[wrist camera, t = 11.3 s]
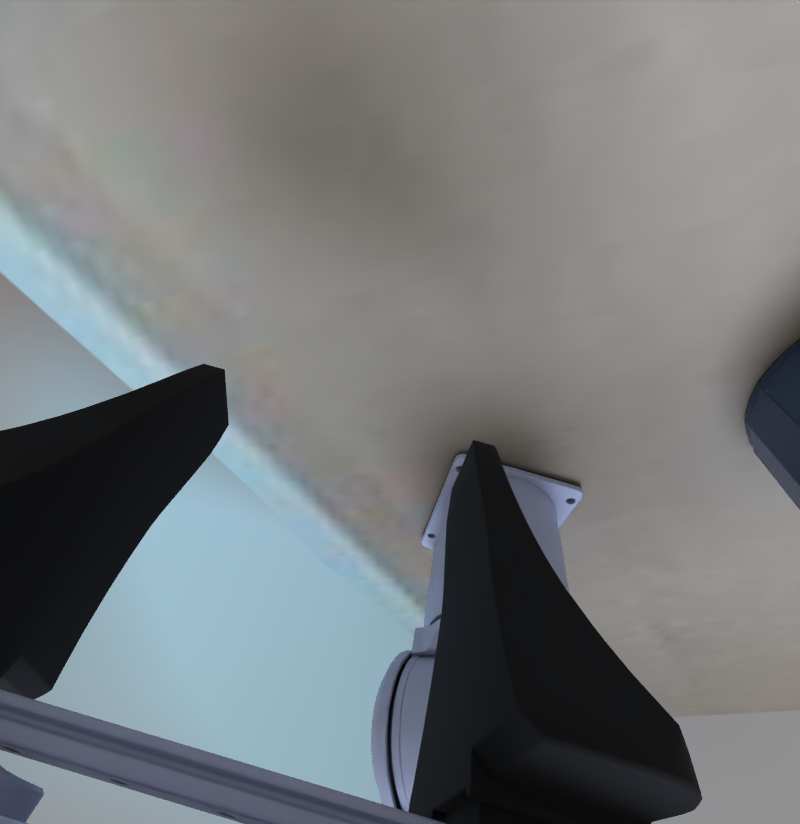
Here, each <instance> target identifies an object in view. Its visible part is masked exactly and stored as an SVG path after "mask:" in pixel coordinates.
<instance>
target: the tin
mask: <svg viewBox="0 0 800 824" xmlns="http://www.w3.org/2000/svg"><path fill="white" fill-rule="evenodd" d="M745 424H746V431H747V435H748V438H749V441H750V443H751V445H752V446H753V448H754V452H755V454H756V455H757V456H758V458H759V459H760V460H761V461H762V463H763V464H764V465H765V466H766V468H767V469H768V470H769V471H770V473H771V474H772V475H773V477H774V478H775V479H776V480H777V482H778V483H779V484H780V485H781V487H782V488H783V489H784V490H785V492H786V493H787V494H788V495H789V497H790V498H791V499H792V500H793V502H794V503H795V504H796V506H797V507H798V508H799V509H800V340H799V341H798V342H796V343H795V344H794V345H793V346H791V347H790V348H789V349H788V350H787V351H785V352H784V353H783V354H782V355H781V356H780V357H779V358H778V359H777V360H776V361H775V362H774V363H773V364H772V366H771V367H770V368H769V369H768V370H767V372H766V373H765V374H764V375H763V377H762V378H761V380H760V381H759V383H758V384H757V386H756V388H755V389H754V392H753V394H752V396H751V398H750V400H749V404H748V408H747V411H746V422H745Z"/></svg>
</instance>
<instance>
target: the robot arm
mask: <svg viewBox="0 0 800 824" xmlns="http://www.w3.org/2000/svg"><path fill="white" fill-rule="evenodd" d="M228 425H229V423H228V410H227V396H226V383H225V370H224V369H220V368H217V367H213V366H210V365H206V364H202V365H199V366H196V367H193V368H190V369H188V370H185V371H182V372H180V373H177V374H175V375H172V376H170V377H167V378H165V379H162V380H160V381H157V382H155V383H152V384H150V385H147V386H144V387H142V388H139V389H137V390H134V391H132V392H129V393H127V394H124V395H121V396H118V397H115V398H112V399H109V400H107V401H104V402H101V403H98V404H95V405H92V406H89V407H86V408H84V409H80V410H77V411H74V412H71V413H68V414H64V415H61V416H58V417H54V418H50V419H47V420H43V421H39V422H36V423H32V424H28V425H24V426H21V427H16V428H11V429H7V430H2V431H0V750H3V751H7V752H10V753H13V754H16V755H20V756H23V757H26V758H29V759H33V760H36V761H39V762H43V763H46V764H50V765H52V766H56V767H59V768H62V769H66V770H69V771H72V772H76V773H79V774H82V775H86V776H89V777H92V778H96V779H99V780H102V781H105V782H109V783H112V784H116V785H118V786H122V787H125V788H128V789H132V790H135V791H138V792H142V793H145V794H148V795H152V796H155V797H158V798H162V799H165V800H168V801H171V802H174V803H178V804H181V805H184V806H188V807H191V808H194V809H197V810H201V811H204V812H208V813H211V814H214V815H217V816H221V817H224V818H227V819H230V820H234V821H237V822H240V823H244V824H651V822H653V821H657V820H661V819H665V818H669V817H674V816H678V815H682V814H685V813H687V812H690V811H693V810H694V809H695V808H696V807H697V806H698V805H699V803H700V802H701V800H702V796H701V791H700V788H699V785H698V781H697V778H696V775H695V771H694V768H693V765H692V762H691V758H690V754H689V752H688V749H687V746H686V743H685V740H684V737H683V735H682V732H681V729H680V727H679V725H678V724H677V723H676V721H674V719H673V718H672V717H671V716H670V715H669V714H668V713H667V712H666V710H665V709H664V708H663V707H662V706H661V705H660V704H659V703H658V702H657V701H656V699H655V698H654V697H653V696H652V695H651V694H650V693H649V692H648V691H647V690H646V689H645V687H644V686H643V685H642V684H641V683H640V682H639V681H638V680H637V679H636V678H635V676H634V675H633V674H632V673H631V672H630V671H629V670H628V668H627V667H626V666H625V665H624V664H623V662H622V661H621V660H620V659H619V658H618V656H617V655H616V654H615V653H614V651H613V650H612V649H611V648H610V647H609V645H608V644H607V643H606V642H605V641H604V639H603V638H602V637H601V635H600V634H599V633H598V632H597V630H596V629H595V628H594V626H593V625H592V624H591V622H590V621H589V620H588V618H587V617H586V616H585V614H584V613H583V612H582V610H581V609H580V607H579V606H578V605H577V603H576V602H575V601H574V599H573V598H572V596H571V595H570V594H569V589H568V583H567V577H566V570H565V564H564V558H563V552H562V546H561V540H560V534H559V528H560V527H561V526H562V524H563V523H564V522H565V520H566V519H567V518H568V516H569V515H570V514H571V512H572V511H573V510H574V508H575V507H576V506H577V504H578V503H579V502H580V500H581V499H582V498H583V491H582V489H581V488H580V487H578V486H575V485H571V484H568V483H565V482H561V481H558V480H554V479H551V478H547V477H544V476H540V475H537V474H533V473H530V472H526V471H523V470H519V469H516V468H512V467H509V466H505V465H502V463H501V460H500V457H499V455H498V452H497V450H496V448H495V446H493V445H489V444H486V443H482V442H479V441H475V440H473V441H472V444H471V446H470V448H469V451H468V453H467V454H459V455H457V456H456V457H455V459H454V462H453V464H452V467H451V469H450V471H449V474H448V476H447V479H446V481H445V484H444V486H443V488H442V491H441V493H440V496H439V498H438V501H437V503H436V505H435V508H434V510H433V513H432V515H431V518H430V520H429V522H428V525H427V527H426V530H425V532H424V535H423V537H422V542H421V543H422V545H423V546H425V547H427V548H431V549H434V552H433V560H432V567H431V574H430V581H429V589H428V596H427V603H426V611H425V618H424V627H423V628H416V629H415V634H414V640H413V647H412V651H404V652H402V653H400V654H399V655H398V656H396V658H395V659H394V660H393V662H392V663H391V665H390V666H389V669H388V670H387V672H386V674H385V676H384V678H383V680H382V682H381V685H380V688H379V691H378V694H377V698H376V702H375V707H374V713H373V720H372V732H371V750H372V751H371V752H372V763H373V769H374V775H375V779H376V783H377V786H378V789H379V793H380V797H381V801H382V804H379V803H376V802H373V801H369V800H366V799H363V798H359V797H356V796H353V795H349V794H346V793H343V792H339V791H336V790H333V789H330V788H326V787H323V786H319V785H316V784H313V783H310V782H306V781H303V780H299V779H296V778H293V777H289V776H286V775H283V774H280V773H276V772H273V771H270V770H266V769H263V768H260V767H256V766H253V765H250V764H246V763H243V762H239V761H236V760H233V759H230V758H226V757H223V756H220V755H216V754H213V753H210V752H206V751H203V750H200V749H196V748H193V747H190V746H186V745H183V744H180V743H176V742H173V741H170V740H166V739H163V738H160V737H157V736H153V735H149V734H146V733H143V732H140V731H137V730H133V729H130V728H127V727H123V726H120V725H117V724H113V723H110V722H107V721H103V720H100V719H97V718H93V717H90V716H87V715H83V714H80V713H77V712H73V711H70V710H66V709H63V708H60V707H57V706H53V705H50V704H47V703H43V702H40V701H37V700H33V699H36V698H38V697H40V696H42V695H44V694H46V693H47V692H49V691H50V690H52V688H53V686H54V684H55V683H56V680H57V679H58V677H59V674H60V673H61V671H62V669H63V667H64V666H65V664H66V662H67V660H68V659H69V657H70V655H71V653H72V651H73V650H74V648H75V646H76V644H77V642H78V640H79V639H80V637H81V635H82V633H83V632H84V630H85V628H86V627H87V625H88V623H89V622H90V619H91V618H92V616H93V615H94V613H95V611H96V610H97V608H98V606H99V605H100V603H101V601H102V600H103V598H104V596H105V595H106V593H107V591H108V590H109V588H110V587H111V585H112V583H113V582H114V580H115V579H116V577H117V576H118V574H119V573H120V571H121V570H122V568H123V566H124V565H125V563H126V562H127V560H128V559H129V557H130V556H131V554H132V553H133V551H134V550H135V548H136V547H137V545H138V544H139V542H140V541H141V539H142V538H143V537H144V535H145V533H146V532H147V530H148V529H149V528H150V526H151V525H152V524H153V523H154V521H155V520H156V519H157V517H158V516H159V515H160V513H161V512H162V511H163V510H164V509H165V508H166V506H167V505H168V504H169V503H170V502H171V500H172V499H173V498H174V497H175V495H177V493H178V492H179V491H180V490H181V489H182V487H183V486H184V485H185V484H186V483H187V481H188V480H189V479H190V478H191V477H192V476H193V474H194V473H195V472H196V471H197V470H198V468H199V467H200V466H201V465H202V463H203V462H204V461H205V460H206V459H207V457H208V456H209V455H210V454H211V452H212V451H213V449H214V448H215V446H216V445H217V443H218V441H219V440H220V438H221V437H222V435H223V433H224V432H225V430H226V428H227V427H228ZM458 466H462V467H461V468H459V467H458ZM569 498H573V499H569ZM42 797H43V789H42V788H40V787H38V786H36V785H34V784H31V783H29V782H27V781H25V780H23V779H21V778H19V777H17V776H15V775H13V774H12V773H10V772H8V771H6V770H5V769H4V768H3V767H1V766H0V824H27V823H26V821H27V819H28V818H29V816H30V815H31V813H32V812H33V810H34V809H35V807H36V806H37V804H38V803H39V801H40V800H41V798H42Z"/></svg>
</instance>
